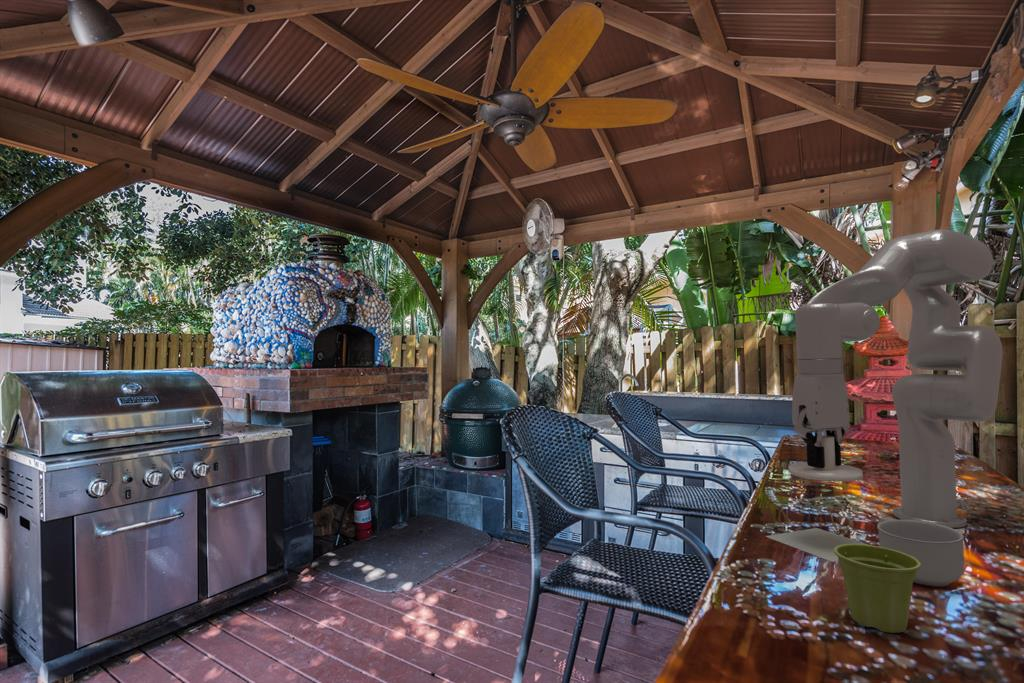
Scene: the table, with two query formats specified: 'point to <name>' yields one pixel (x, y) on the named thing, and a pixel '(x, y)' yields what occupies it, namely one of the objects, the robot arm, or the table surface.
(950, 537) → the teacup
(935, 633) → the table surface
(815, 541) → the mat
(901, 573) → the plant pot
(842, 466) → the lid
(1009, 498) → the table surface
